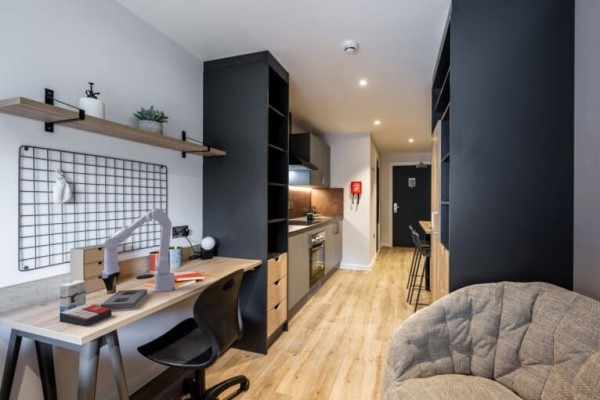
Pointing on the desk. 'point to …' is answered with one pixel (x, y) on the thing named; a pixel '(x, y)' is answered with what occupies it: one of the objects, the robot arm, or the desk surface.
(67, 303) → the ink box
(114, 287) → the peg
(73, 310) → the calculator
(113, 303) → the board
